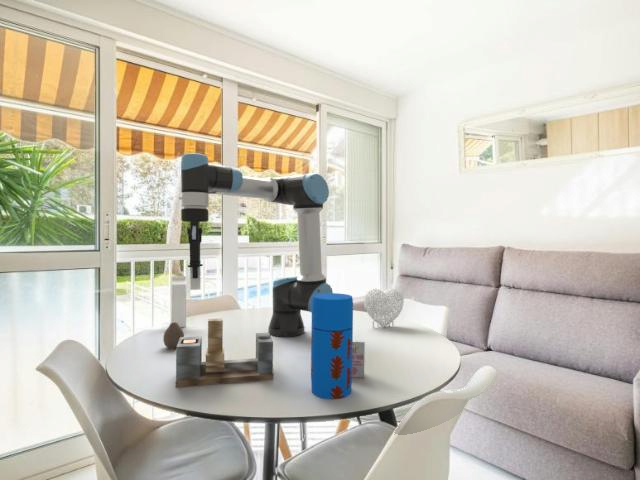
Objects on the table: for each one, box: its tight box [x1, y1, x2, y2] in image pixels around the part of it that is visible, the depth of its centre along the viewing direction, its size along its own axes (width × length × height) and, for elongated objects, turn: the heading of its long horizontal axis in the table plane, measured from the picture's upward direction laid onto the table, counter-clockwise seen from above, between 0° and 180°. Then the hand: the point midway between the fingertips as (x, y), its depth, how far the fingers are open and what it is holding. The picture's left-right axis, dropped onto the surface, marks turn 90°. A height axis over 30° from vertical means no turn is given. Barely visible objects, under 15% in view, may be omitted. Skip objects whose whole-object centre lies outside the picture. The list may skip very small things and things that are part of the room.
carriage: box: [205, 318, 225, 372], centre depth 110 cm, size 5×7×14 cm
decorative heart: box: [363, 288, 405, 328], centre depth 172 cm, size 18×11×17 cm, turn 97°
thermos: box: [310, 292, 354, 400], centre depth 101 cm, size 11×11×25 cm
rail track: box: [175, 332, 274, 388], centre depth 111 cm, size 26×12×11 cm, turn 104°
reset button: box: [183, 339, 196, 344], centre depth 108 cm, size 3×3×2 cm
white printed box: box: [352, 341, 366, 380], centre depth 112 cm, size 4×7×10 cm, turn 85°
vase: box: [163, 322, 185, 350], centre depth 137 cm, size 7×7×9 cm
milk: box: [170, 275, 187, 328], centre depth 169 cm, size 6×6×22 cm
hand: (195, 289), depth 111 cm, fingers closed
